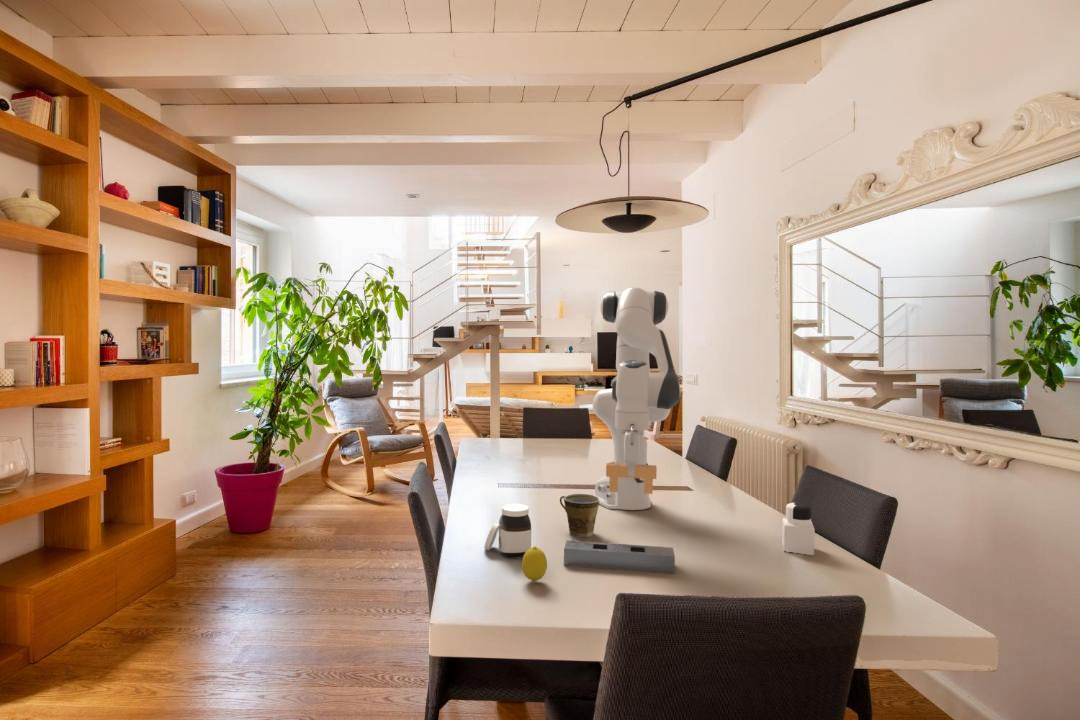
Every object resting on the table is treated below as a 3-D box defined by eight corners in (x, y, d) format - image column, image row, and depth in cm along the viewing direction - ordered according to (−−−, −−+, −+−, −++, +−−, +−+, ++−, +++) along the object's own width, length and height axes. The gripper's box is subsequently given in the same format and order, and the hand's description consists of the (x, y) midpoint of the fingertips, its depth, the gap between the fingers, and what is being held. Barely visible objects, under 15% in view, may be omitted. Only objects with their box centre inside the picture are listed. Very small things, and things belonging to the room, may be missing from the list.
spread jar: (534, 558, 140) (535, 512, 139) (489, 563, 136) (490, 515, 136) (522, 542, 151) (522, 499, 151) (480, 546, 148) (481, 501, 148)
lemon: (521, 577, 128) (521, 542, 128) (545, 577, 129) (546, 542, 128) (522, 587, 123) (523, 551, 122) (547, 587, 123) (548, 550, 123)
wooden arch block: (605, 491, 149) (606, 465, 149) (606, 489, 152) (606, 463, 151) (656, 494, 147) (656, 467, 147) (655, 491, 150) (656, 465, 149)
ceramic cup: (605, 533, 159) (606, 498, 159) (583, 542, 152) (584, 505, 152) (570, 523, 168) (571, 490, 168) (548, 530, 161) (548, 496, 161)
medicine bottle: (810, 546, 151) (811, 502, 151) (814, 556, 145) (815, 509, 144) (781, 543, 154) (783, 499, 154) (784, 552, 147) (785, 506, 147)
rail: (563, 565, 136) (564, 548, 136) (566, 556, 142) (566, 540, 142) (674, 573, 132) (674, 556, 132) (672, 563, 138) (672, 547, 138)
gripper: (645, 427, 138) (644, 484, 138) (643, 418, 158) (642, 467, 159) (619, 426, 139) (618, 482, 139) (620, 417, 159) (619, 466, 159)
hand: (631, 474), depth 149 cm, fingers closed on wooden arch block, 3 cm apart
